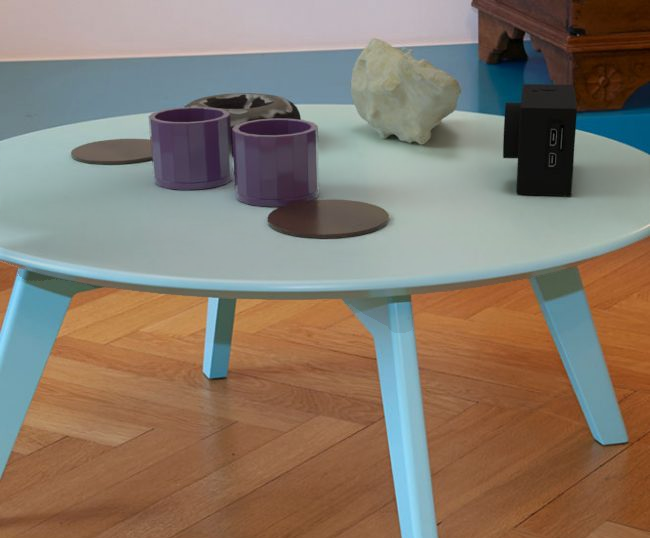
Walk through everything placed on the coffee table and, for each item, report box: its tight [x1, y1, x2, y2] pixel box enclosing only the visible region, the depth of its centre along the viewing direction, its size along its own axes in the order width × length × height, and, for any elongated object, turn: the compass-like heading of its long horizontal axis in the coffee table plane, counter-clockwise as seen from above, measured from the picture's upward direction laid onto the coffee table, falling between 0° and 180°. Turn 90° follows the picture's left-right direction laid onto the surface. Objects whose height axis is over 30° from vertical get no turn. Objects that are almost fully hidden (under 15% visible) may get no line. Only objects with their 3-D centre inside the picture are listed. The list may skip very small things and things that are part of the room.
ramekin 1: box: [148, 106, 234, 191], centre depth 95 cm, size 7×7×6 cm
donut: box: [183, 92, 302, 154], centre depth 107 cm, size 12×12×4 cm
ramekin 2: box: [232, 119, 320, 208], centre depth 90 cm, size 7×7×6 cm
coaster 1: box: [70, 138, 152, 165], centre depth 105 cm, size 9×9×1 cm
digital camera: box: [502, 83, 578, 197], centre depth 93 cm, size 10×5×7 cm, turn 170°
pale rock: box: [350, 37, 462, 145], centre depth 106 cm, size 18×10×7 cm
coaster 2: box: [267, 198, 390, 239], centre depth 84 cm, size 9×9×1 cm
